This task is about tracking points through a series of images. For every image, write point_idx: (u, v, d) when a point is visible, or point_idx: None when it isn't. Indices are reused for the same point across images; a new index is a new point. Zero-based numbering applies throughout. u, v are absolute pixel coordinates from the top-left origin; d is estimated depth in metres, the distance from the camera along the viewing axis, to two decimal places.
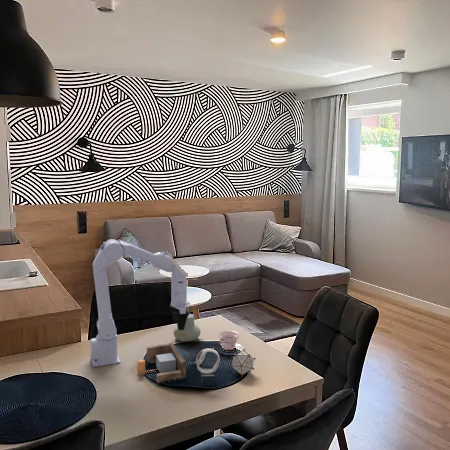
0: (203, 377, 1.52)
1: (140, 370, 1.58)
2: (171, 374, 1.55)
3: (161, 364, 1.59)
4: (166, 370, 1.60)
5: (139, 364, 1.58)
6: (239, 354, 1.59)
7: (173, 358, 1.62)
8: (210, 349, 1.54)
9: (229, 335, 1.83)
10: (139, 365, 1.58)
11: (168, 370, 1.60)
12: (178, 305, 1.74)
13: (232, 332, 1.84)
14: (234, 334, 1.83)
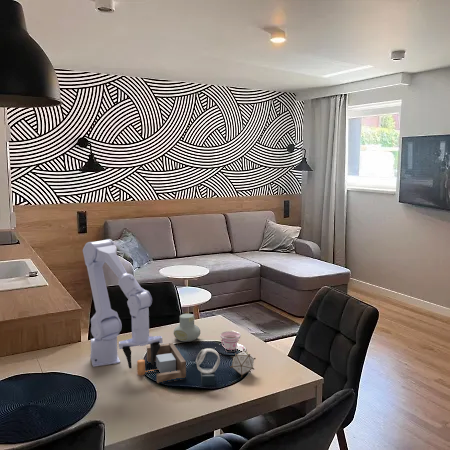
0: (203, 377, 1.52)
1: (140, 370, 1.58)
2: (171, 374, 1.55)
3: (161, 364, 1.59)
4: (166, 370, 1.60)
5: (139, 364, 1.58)
6: (239, 354, 1.59)
7: (173, 358, 1.62)
8: (210, 349, 1.54)
9: (230, 335, 1.83)
10: (139, 365, 1.58)
11: (168, 370, 1.60)
12: (131, 340, 1.58)
13: (233, 332, 1.84)
14: (235, 334, 1.83)
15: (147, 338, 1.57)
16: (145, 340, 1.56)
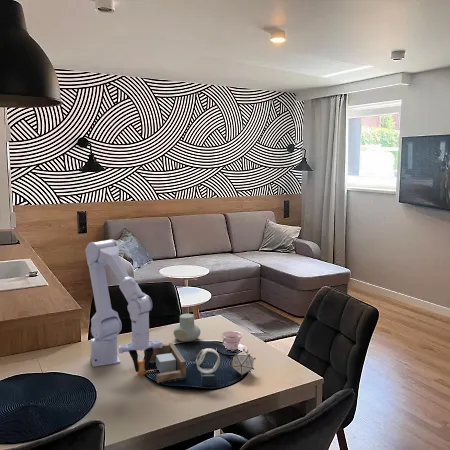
0: (203, 377, 1.52)
1: (140, 370, 1.58)
2: (171, 374, 1.55)
3: (161, 364, 1.59)
4: (166, 370, 1.60)
5: (139, 364, 1.58)
6: (239, 354, 1.59)
7: (173, 358, 1.62)
8: (210, 349, 1.54)
9: (232, 335, 1.83)
10: (139, 365, 1.58)
11: (168, 370, 1.60)
12: (131, 344, 1.58)
13: (235, 332, 1.84)
14: (237, 334, 1.83)
15: (147, 343, 1.57)
16: (145, 345, 1.56)
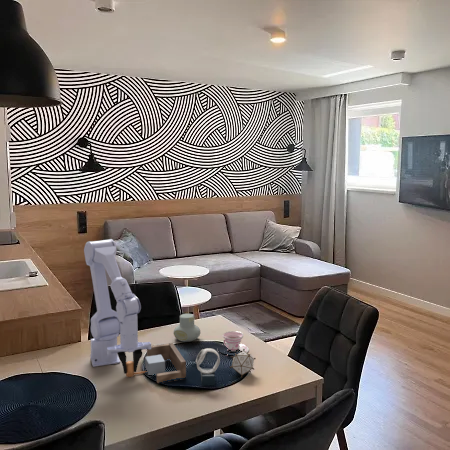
0: (203, 377, 1.52)
1: (128, 372, 1.57)
2: (171, 374, 1.55)
3: (150, 366, 1.58)
4: (155, 372, 1.59)
5: (128, 366, 1.57)
6: (239, 354, 1.59)
7: (162, 360, 1.60)
8: (210, 349, 1.54)
9: (233, 335, 1.83)
10: (128, 367, 1.57)
11: (157, 372, 1.59)
12: (120, 346, 1.57)
13: (236, 332, 1.84)
14: (238, 334, 1.83)
15: (136, 344, 1.56)
16: (134, 346, 1.55)
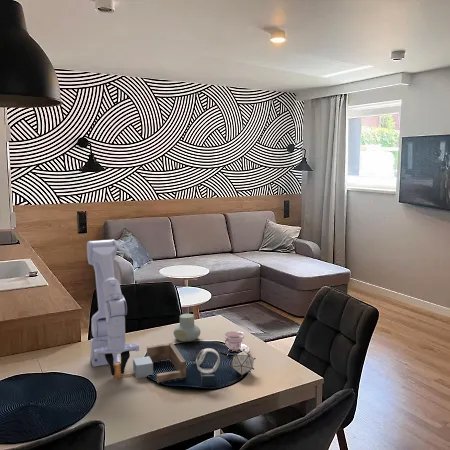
0: (203, 377, 1.52)
1: (116, 374, 1.56)
2: (171, 374, 1.55)
3: (138, 368, 1.56)
4: (143, 374, 1.57)
5: (115, 368, 1.55)
6: (239, 354, 1.59)
7: (150, 361, 1.59)
8: (210, 349, 1.54)
9: (234, 335, 1.83)
10: (115, 369, 1.55)
11: (145, 374, 1.57)
12: (107, 347, 1.55)
13: (237, 332, 1.83)
14: (239, 334, 1.83)
15: (123, 346, 1.54)
16: (121, 348, 1.54)
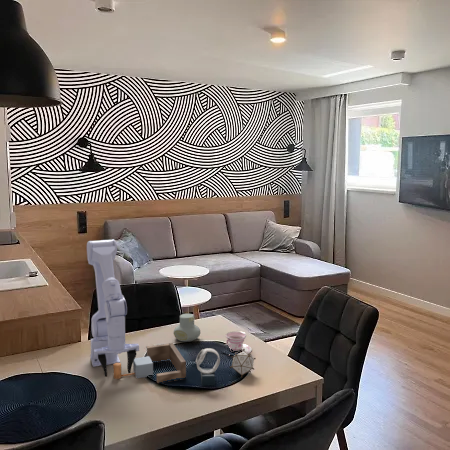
0: (203, 377, 1.52)
1: (116, 374, 1.56)
2: (171, 374, 1.55)
3: (137, 368, 1.56)
4: (143, 374, 1.57)
5: (115, 368, 1.55)
6: (239, 354, 1.59)
7: (150, 361, 1.59)
8: (210, 349, 1.54)
9: (236, 335, 1.83)
10: (115, 369, 1.55)
11: (145, 374, 1.57)
12: (107, 347, 1.55)
13: (239, 332, 1.83)
14: (241, 334, 1.83)
15: (123, 346, 1.54)
16: (121, 348, 1.54)
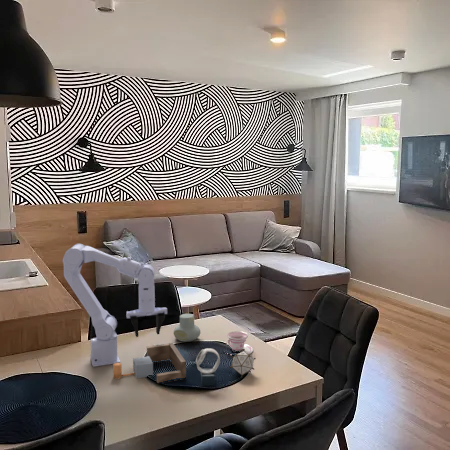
0: (203, 377, 1.52)
1: (116, 374, 1.56)
2: (171, 374, 1.55)
3: (137, 368, 1.56)
4: (143, 374, 1.57)
5: (115, 368, 1.55)
6: (239, 354, 1.59)
7: (150, 361, 1.59)
8: (210, 349, 1.54)
9: (237, 335, 1.83)
10: (115, 369, 1.55)
11: (145, 374, 1.57)
12: (138, 310, 1.69)
13: (240, 332, 1.83)
14: (243, 334, 1.83)
15: (153, 309, 1.68)
16: (151, 310, 1.67)
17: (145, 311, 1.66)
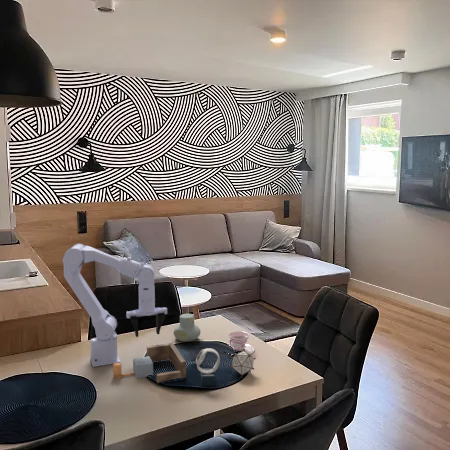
0: (203, 377, 1.52)
1: (116, 374, 1.56)
2: (171, 374, 1.55)
3: (137, 368, 1.56)
4: (143, 374, 1.57)
5: (115, 368, 1.55)
6: (239, 354, 1.59)
7: (150, 361, 1.59)
8: (210, 349, 1.54)
9: (239, 335, 1.83)
10: (115, 369, 1.55)
11: (145, 374, 1.57)
12: (138, 310, 1.69)
13: (242, 332, 1.83)
14: (244, 334, 1.83)
15: (153, 309, 1.68)
16: (151, 310, 1.67)
17: (145, 311, 1.66)
